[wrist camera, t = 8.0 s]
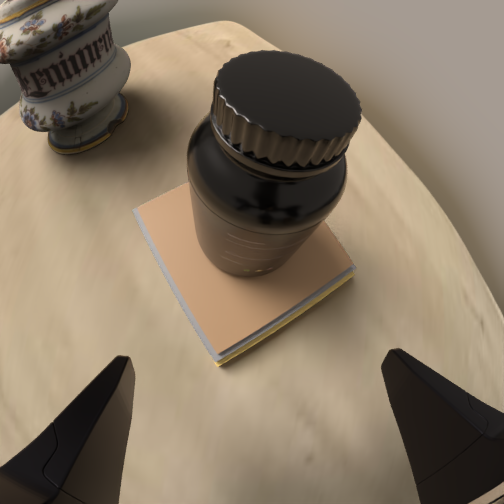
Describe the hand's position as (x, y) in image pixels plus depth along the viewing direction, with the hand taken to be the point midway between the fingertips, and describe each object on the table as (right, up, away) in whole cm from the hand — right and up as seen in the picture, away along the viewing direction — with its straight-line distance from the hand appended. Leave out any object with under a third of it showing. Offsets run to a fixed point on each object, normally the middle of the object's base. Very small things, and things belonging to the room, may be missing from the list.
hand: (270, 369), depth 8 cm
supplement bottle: (-1, +5, +11) cm, 12 cm away
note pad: (-1, +4, +13) cm, 13 cm away
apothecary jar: (-18, +18, +15) cm, 30 cm away
